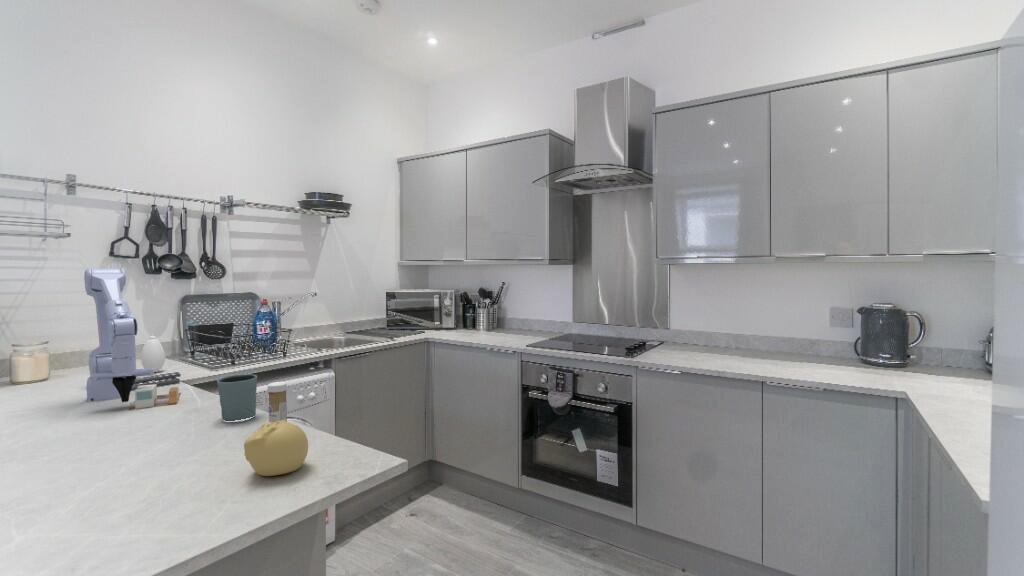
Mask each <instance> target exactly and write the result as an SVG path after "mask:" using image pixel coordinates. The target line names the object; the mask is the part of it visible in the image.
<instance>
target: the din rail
mask: <svg viewBox="0 0 1024 576" xmlns="http://www.w3.org/2000/svg"><path fill="white" fill-rule="evenodd" d="M179 391H180V390H179V386H173V387H170V388H169V390H168V394H169V398H166V399H157V400H155V401H154V404H155V405H160V404H168V403H169V404H176V405H177V404H178V403H179V400H180V397H179V393H180V392H179ZM128 406H129V408H135V402H134V401H133V402H130V403H129V405H128ZM129 408H128V409H129Z"/></svg>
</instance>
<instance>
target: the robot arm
mask: <svg viewBox="0 0 1024 576" xmlns="http://www.w3.org/2000/svg"><path fill="white" fill-rule="evenodd" d="M83 276H84V277H83V279H84V289H85V292H86V295H87V296H89V297H92V298H93V300H94V303H95V311H96V322H97V331H98V332H97V334H98V342H99V346H97V347H96V348H95V349H93V350H91V352H90V353H89V355H88V370H89V375H90V374H91V375H92V377H90V376H88V378H87V380H86V402H97V401H99V402H100V401H110V400H116V399H120V400H121V403H127V402H129V400H130V394H131V391H132V388H133V386H134V383H135V381H136V380H137V378H138V377H146V376H147V377H149V376H150V377H153V376H155V373H154V368H153V369H144V368H137V357H136V356H137V355H136V336H137V334H138V329H139V328H138V321H137V318H136V317H135V316H134V314H132V313H131V311H130V306H129V304H128V302H127V301H125V300H123V299H122V293H123V290H124V288H125V286H126V283H127V275H126V271H125V269H123V268H122V267H121V268H86V269H85V271H84V275H83ZM106 354H111V355H106ZM99 355H105V356H99Z"/></svg>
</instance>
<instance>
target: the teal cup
mask: <svg viewBox="0 0 1024 576" xmlns="http://www.w3.org/2000/svg"><path fill="white" fill-rule="evenodd" d="M216 384H217V390H218V391H217V392H218V396H219V403H220V407H221V409H220V411H221V413H220V414H221V420H222V419H223V420H225V421H235V420H241V419H246V418H250V417H253V416H255V415H257V388H258V387H257V386H258V375H257V374H251V373H250V374H249V373H244V374H243V373H242V374H233V375H227V376H224V377H221V378H218V379H217V380H216ZM255 417H256V416H255ZM223 420H222V421H223Z"/></svg>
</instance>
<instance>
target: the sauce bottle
mask: <svg viewBox="0 0 1024 576" xmlns="http://www.w3.org/2000/svg"><path fill="white" fill-rule="evenodd" d="M140 359H141V360H140V361H141V365H142V367H143V369H153V368H154V372H156V373H157V372H160V370H162V368H163V367H164V365H165V361H166V353H165V349H164V347H163V345H162V343H161V341H160V340H159V339H157V336H155V335H154V331H153V330H151V336H149V337H148V339H147V340H146V342H145V343H144V345H143V348H142V350H141V355H140Z"/></svg>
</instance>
